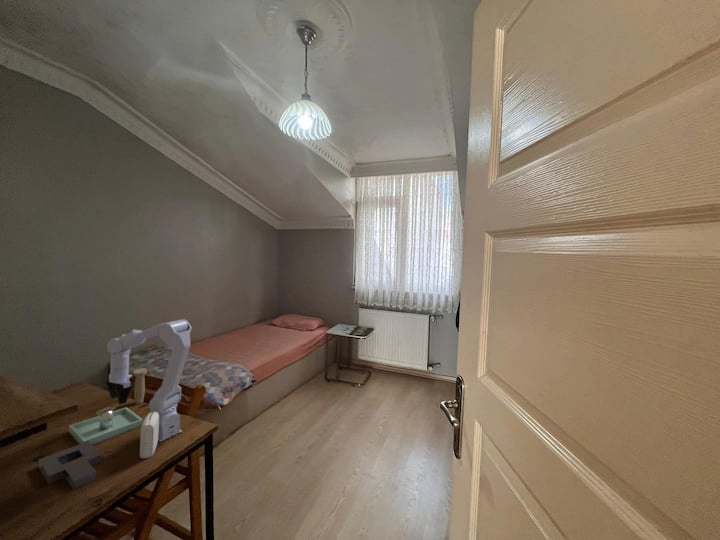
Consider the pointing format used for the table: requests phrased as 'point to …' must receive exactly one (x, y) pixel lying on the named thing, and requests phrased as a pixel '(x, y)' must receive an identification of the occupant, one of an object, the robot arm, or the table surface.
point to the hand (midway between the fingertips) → (118, 400)
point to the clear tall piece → (106, 418)
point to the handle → (139, 385)
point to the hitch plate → (71, 465)
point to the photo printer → (149, 435)
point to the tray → (90, 430)
